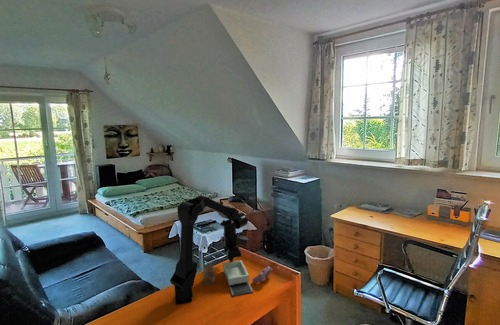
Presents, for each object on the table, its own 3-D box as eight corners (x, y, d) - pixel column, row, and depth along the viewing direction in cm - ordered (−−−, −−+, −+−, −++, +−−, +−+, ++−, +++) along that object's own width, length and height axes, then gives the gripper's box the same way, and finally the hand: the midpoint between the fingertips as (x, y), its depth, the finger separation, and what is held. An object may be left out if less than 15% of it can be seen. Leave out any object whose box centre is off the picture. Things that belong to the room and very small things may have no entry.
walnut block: (205, 285, 130) (204, 272, 129) (204, 279, 134) (203, 267, 133) (215, 283, 131) (214, 271, 130) (213, 277, 135) (213, 266, 134)
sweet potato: (258, 288, 129) (264, 277, 126) (250, 281, 131) (256, 270, 128) (270, 277, 137) (276, 267, 134) (262, 271, 139) (268, 260, 136)
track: (232, 296, 121) (232, 295, 121) (223, 271, 140) (223, 270, 140) (253, 292, 124) (253, 290, 124) (241, 268, 143) (241, 267, 142)
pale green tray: (229, 286, 127) (228, 278, 126) (223, 270, 140) (223, 263, 139) (249, 282, 129) (248, 275, 129) (241, 267, 142) (241, 260, 142)
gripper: (251, 237, 133) (252, 269, 136) (241, 223, 151) (242, 251, 154) (227, 241, 130) (228, 273, 133) (220, 225, 148) (221, 254, 151)
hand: (231, 262), depth 143 cm, fingers closed
